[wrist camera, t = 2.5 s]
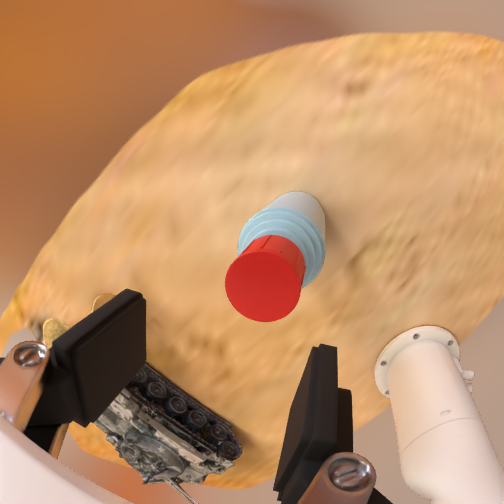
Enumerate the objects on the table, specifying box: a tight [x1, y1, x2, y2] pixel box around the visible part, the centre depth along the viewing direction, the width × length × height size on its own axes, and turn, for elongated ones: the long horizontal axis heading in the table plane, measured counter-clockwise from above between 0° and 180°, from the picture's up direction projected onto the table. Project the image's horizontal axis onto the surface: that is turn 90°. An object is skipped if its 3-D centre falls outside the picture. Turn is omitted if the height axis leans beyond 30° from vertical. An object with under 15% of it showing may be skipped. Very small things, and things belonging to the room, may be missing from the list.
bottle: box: [238, 191, 325, 289], centre depth 25 cm, size 6×6×20 cm
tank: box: [94, 363, 242, 504], centre depth 42 cm, size 16×31×15 cm, turn 55°
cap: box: [225, 234, 306, 322], centre depth 18 cm, size 4×4×4 cm
